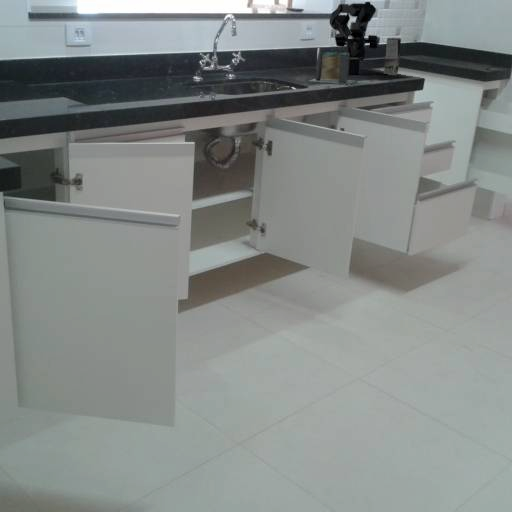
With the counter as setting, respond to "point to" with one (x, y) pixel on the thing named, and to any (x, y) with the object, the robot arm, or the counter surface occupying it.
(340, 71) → the gate frame
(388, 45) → the coffee box
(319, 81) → the gate mat
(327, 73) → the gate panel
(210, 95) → the counter surface
